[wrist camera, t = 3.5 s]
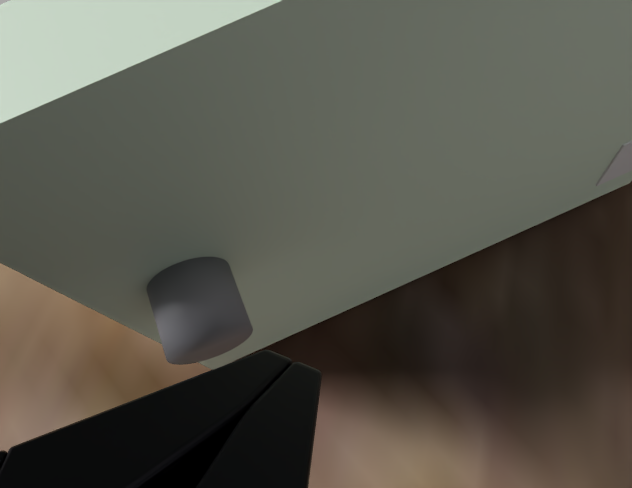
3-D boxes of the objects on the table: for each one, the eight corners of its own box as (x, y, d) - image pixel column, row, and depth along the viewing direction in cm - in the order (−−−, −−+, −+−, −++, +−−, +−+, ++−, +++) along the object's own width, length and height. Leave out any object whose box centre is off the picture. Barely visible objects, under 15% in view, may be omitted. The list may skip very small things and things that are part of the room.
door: (665, 216, 14) (1191, -283, 5) (227, 414, 13) (-144, 306, 4) (601, 136, 15) (921, -396, 6) (196, 317, 15) (-153, 67, 5)
